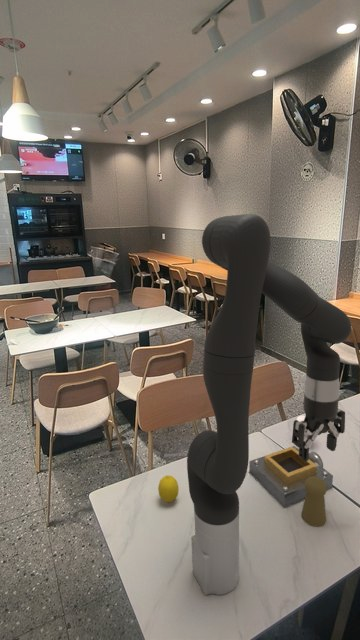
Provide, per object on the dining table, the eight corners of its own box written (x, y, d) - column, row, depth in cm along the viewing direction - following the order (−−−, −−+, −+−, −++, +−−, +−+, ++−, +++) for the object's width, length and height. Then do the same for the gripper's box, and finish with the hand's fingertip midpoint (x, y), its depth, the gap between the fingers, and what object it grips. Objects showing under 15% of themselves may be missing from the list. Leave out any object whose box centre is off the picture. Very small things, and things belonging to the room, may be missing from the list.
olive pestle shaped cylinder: (328, 528, 90) (331, 490, 88) (302, 525, 92) (304, 487, 89) (324, 510, 96) (326, 474, 93) (300, 507, 97) (301, 471, 95)
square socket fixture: (284, 507, 97) (284, 486, 96) (249, 472, 112) (249, 453, 110) (336, 485, 105) (337, 466, 103) (297, 455, 119) (298, 437, 117)
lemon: (166, 491, 105) (164, 467, 103) (182, 498, 102) (181, 473, 100) (155, 504, 100) (153, 479, 98) (172, 511, 98) (170, 485, 96)
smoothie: (319, 448, 122) (321, 410, 119) (303, 453, 120) (305, 414, 116) (306, 438, 128) (308, 402, 124) (291, 443, 126) (292, 406, 122)
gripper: (309, 407, 79) (305, 472, 83) (357, 392, 85) (351, 454, 89) (286, 393, 86) (284, 454, 90) (331, 381, 91) (327, 438, 95)
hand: (317, 454), depth 89 cm, fingers open, 8 cm apart
